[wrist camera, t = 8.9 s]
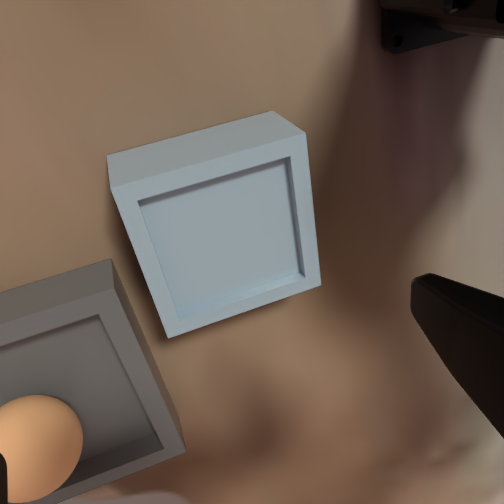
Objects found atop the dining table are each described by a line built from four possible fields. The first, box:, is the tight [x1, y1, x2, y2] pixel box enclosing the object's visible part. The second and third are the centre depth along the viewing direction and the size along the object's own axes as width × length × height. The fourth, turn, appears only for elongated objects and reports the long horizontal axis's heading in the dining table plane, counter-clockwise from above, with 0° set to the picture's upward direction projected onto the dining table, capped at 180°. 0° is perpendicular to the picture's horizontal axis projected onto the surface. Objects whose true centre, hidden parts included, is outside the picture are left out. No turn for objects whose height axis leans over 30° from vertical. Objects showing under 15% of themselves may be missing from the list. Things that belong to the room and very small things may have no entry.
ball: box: [0, 395, 83, 503], centre depth 20 cm, size 4×4×4 cm
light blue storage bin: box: [107, 111, 321, 338], centre depth 19 cm, size 7×7×4 cm
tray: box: [0, 259, 186, 504], centre depth 22 cm, size 12×12×2 cm
